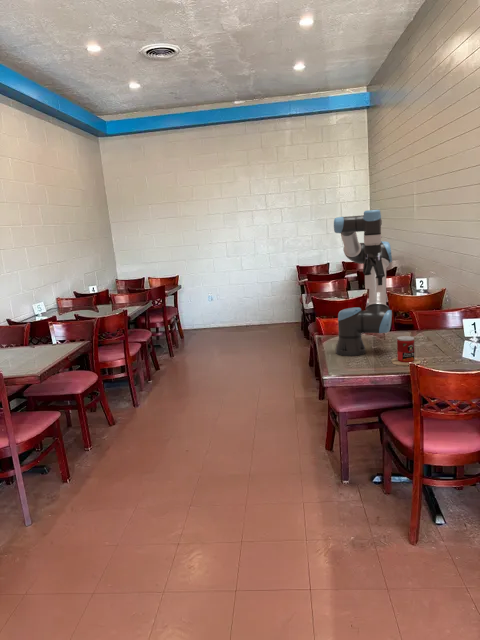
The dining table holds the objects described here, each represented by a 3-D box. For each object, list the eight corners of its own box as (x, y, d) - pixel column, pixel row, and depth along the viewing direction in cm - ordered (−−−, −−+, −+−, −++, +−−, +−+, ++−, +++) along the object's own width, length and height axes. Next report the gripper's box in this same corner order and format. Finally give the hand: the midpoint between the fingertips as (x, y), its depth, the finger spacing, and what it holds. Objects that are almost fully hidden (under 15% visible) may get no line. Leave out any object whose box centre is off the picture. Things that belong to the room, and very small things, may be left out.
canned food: (403, 363, 221) (403, 340, 219) (393, 359, 229) (393, 337, 227) (418, 361, 223) (418, 338, 221) (407, 357, 230) (407, 335, 229)
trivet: (387, 359, 232) (387, 358, 232) (413, 357, 233) (413, 355, 232) (397, 367, 219) (397, 365, 219) (425, 364, 220) (425, 362, 220)
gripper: (392, 244, 206) (392, 293, 210) (370, 243, 231) (371, 286, 235) (375, 245, 206) (376, 294, 210) (355, 244, 230) (356, 288, 234)
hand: (373, 290), depth 222 cm, fingers open, 13 cm apart
